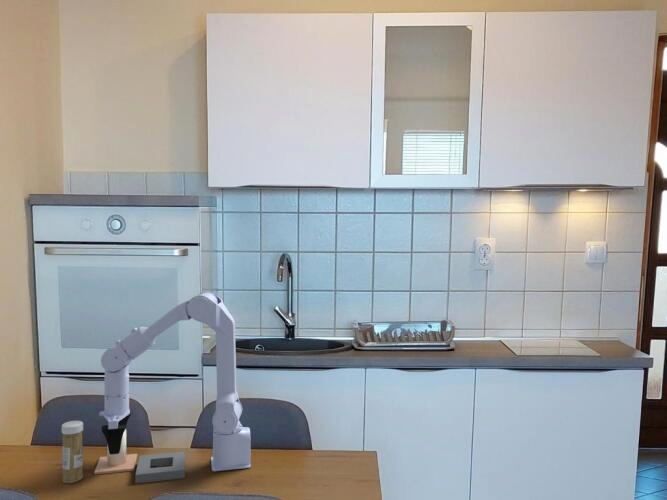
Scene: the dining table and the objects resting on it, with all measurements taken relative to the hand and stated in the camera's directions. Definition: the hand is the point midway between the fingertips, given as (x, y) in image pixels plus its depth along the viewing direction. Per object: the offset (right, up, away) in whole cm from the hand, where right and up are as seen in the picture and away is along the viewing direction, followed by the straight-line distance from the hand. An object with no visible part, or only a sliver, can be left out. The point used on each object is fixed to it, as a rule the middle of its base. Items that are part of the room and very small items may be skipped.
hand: (116, 447), depth 132 cm
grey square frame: (+12, -5, -3) cm, 13 cm away
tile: (0, -4, 0) cm, 4 cm away
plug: (0, -4, 0) cm, 4 cm away
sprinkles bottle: (-7, -5, -8) cm, 12 cm away
